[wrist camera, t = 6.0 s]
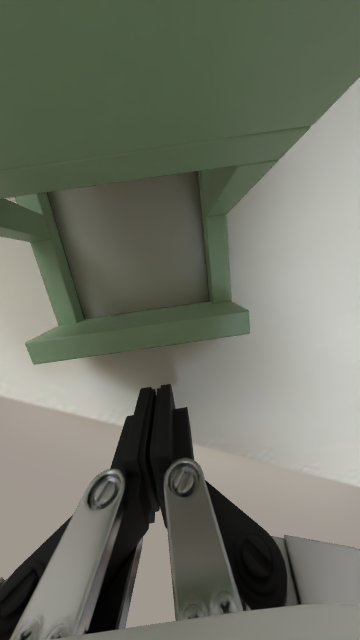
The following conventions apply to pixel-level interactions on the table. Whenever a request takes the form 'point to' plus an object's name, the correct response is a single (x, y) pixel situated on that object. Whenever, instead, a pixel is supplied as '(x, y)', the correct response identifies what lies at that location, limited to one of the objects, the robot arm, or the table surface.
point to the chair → (157, 128)
